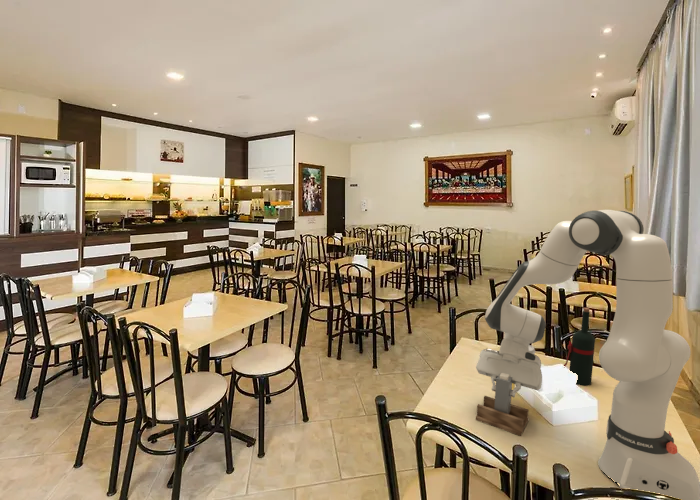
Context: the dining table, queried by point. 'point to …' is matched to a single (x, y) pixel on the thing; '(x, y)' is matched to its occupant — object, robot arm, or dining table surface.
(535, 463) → the dining table surface
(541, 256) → the robot arm
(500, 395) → the post
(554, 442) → the dining table surface
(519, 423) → the wooden card holder
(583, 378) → the wine bottle
